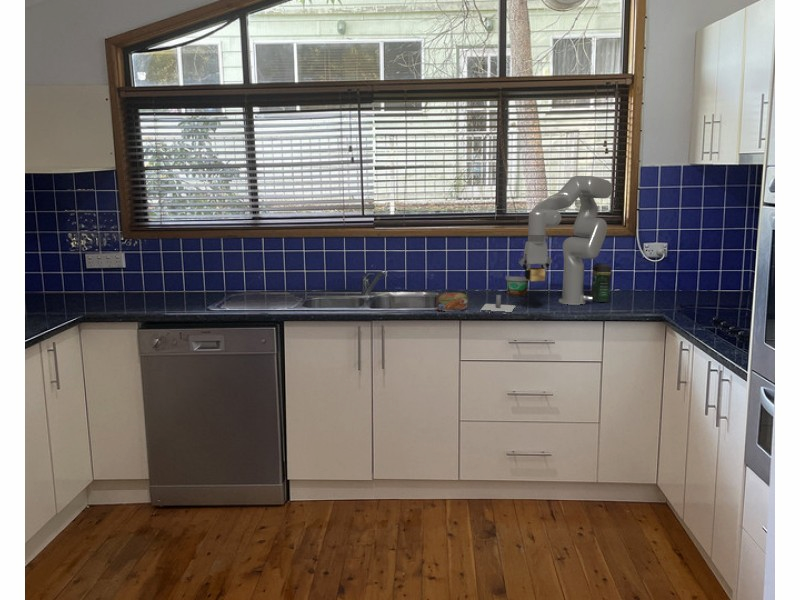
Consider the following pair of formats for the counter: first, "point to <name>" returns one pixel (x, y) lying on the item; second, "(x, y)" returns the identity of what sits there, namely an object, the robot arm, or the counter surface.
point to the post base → (503, 307)
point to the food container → (516, 285)
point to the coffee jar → (601, 282)
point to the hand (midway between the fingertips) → (535, 278)
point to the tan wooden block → (537, 274)
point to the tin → (452, 301)
